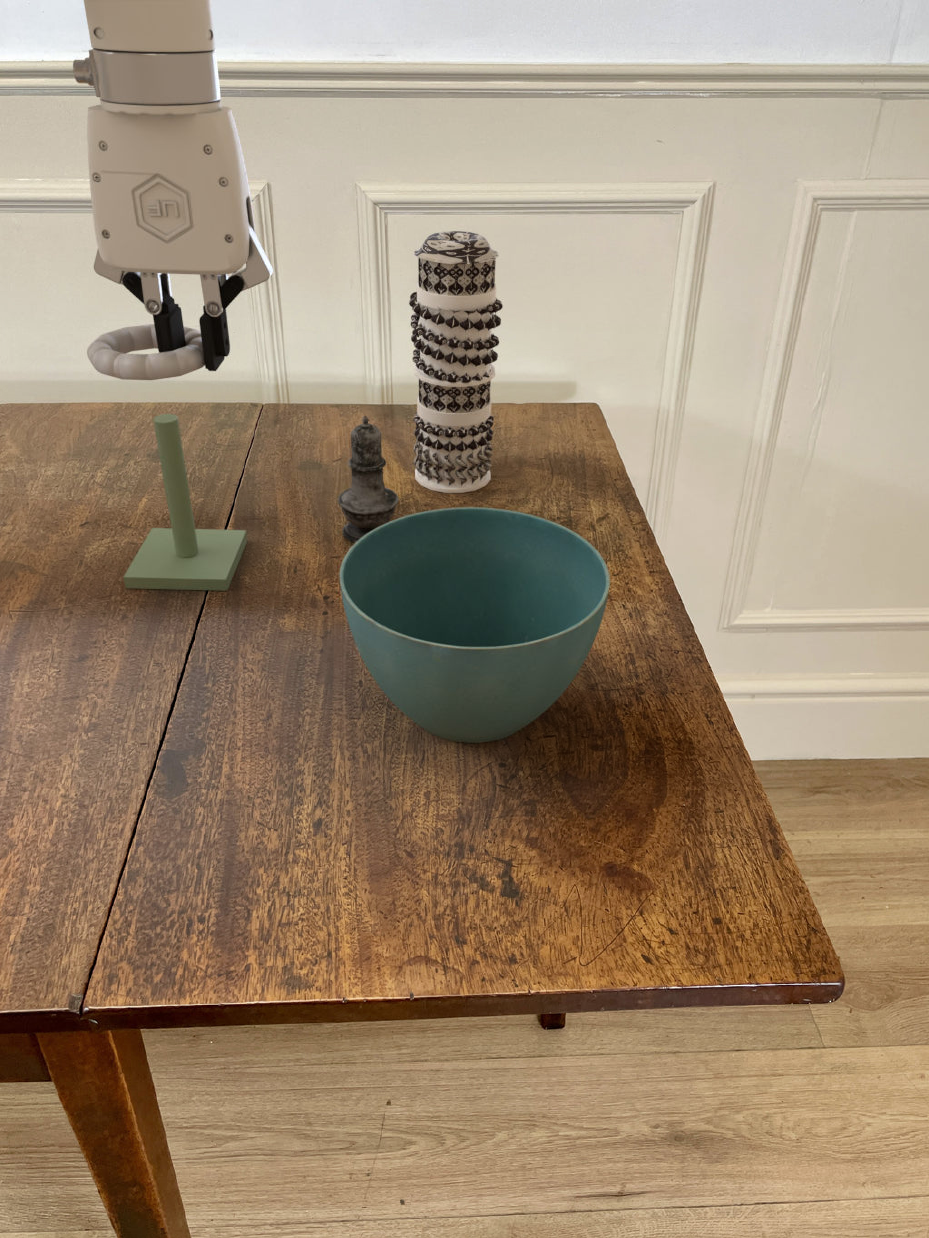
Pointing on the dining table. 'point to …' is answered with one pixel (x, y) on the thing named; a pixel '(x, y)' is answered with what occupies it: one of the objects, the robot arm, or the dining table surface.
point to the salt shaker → (366, 485)
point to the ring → (116, 363)
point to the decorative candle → (454, 360)
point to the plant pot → (473, 616)
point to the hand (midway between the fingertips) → (196, 362)
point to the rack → (183, 532)
